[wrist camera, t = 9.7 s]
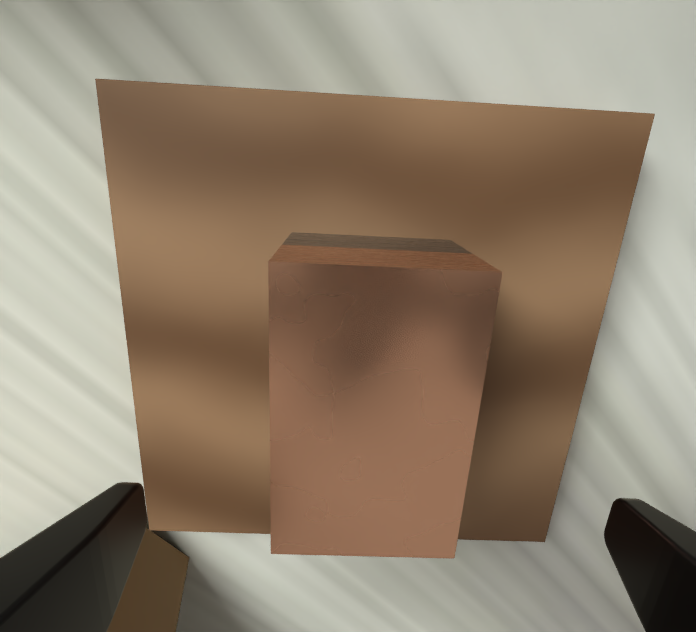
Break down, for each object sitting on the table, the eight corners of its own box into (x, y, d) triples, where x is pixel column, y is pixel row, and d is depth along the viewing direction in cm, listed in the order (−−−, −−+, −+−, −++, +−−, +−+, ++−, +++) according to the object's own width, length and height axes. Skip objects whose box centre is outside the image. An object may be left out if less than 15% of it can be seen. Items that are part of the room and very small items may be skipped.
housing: (450, 239, 14) (502, 272, 9) (418, 496, 17) (445, 611, 12) (292, 232, 13) (268, 261, 9) (289, 492, 17) (271, 607, 12)
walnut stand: (128, 91, 14) (95, 78, 12) (613, 121, 14) (654, 113, 12) (168, 494, 19) (149, 530, 17) (525, 505, 19) (544, 541, 18)
